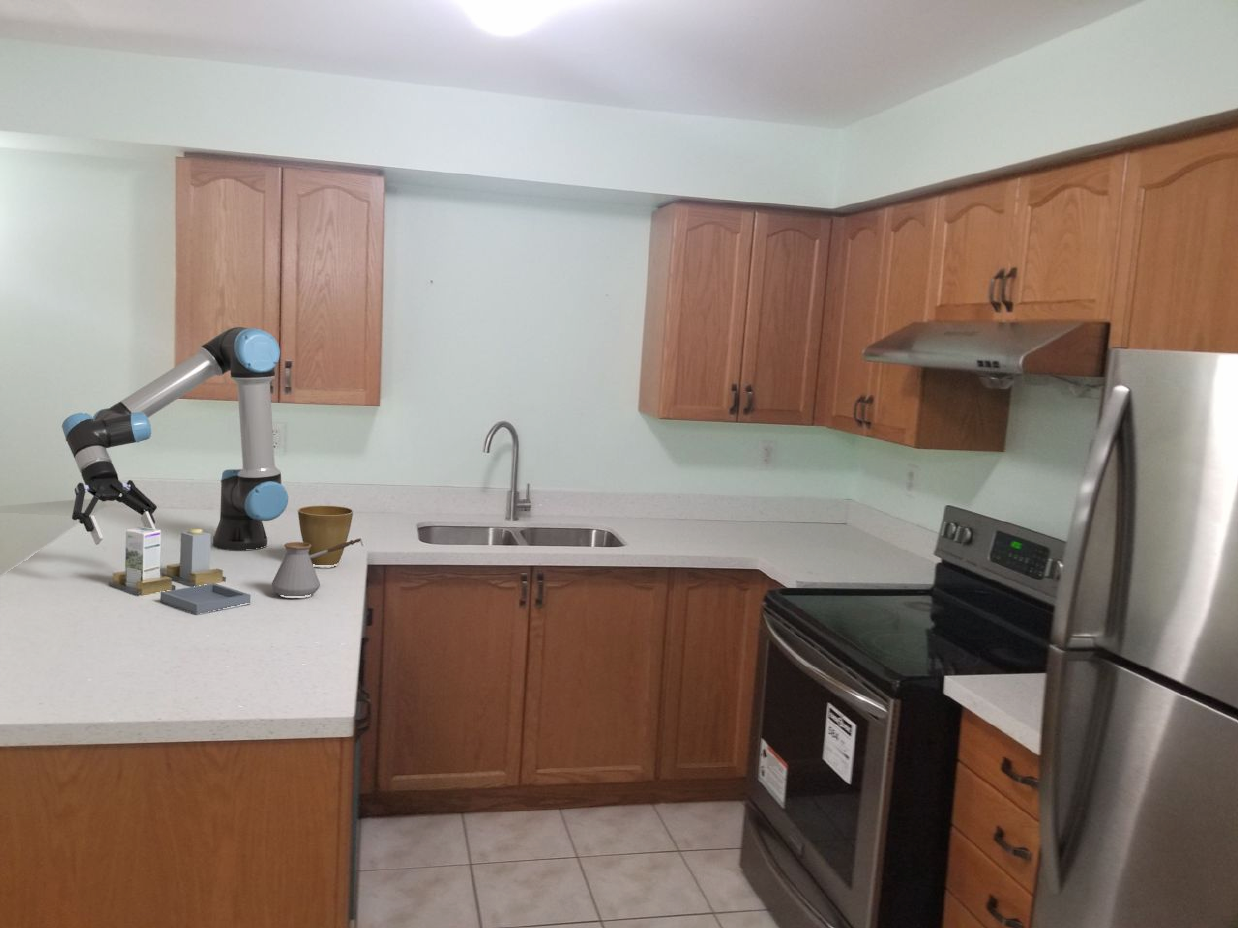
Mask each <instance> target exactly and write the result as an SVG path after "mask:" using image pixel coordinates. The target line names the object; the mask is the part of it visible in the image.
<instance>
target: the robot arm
mask: <svg viewBox="0 0 1238 928" xmlns="http://www.w3.org/2000/svg"><path fill="white" fill-rule="evenodd" d="M280 354H281V350H280V346H279V343H278V341H277V340H276V339H275V337H274V336H273V335H272V334H271V333H269V332H267V331H265V330H263V329H259V328H255V327H251V328H250V327H242V326H239V327H237V326H235V327H231V328H229V329H227V330H224V331H222V332H221V333H220V334H218V335H216V336H215V337H213V338H212V339H211V340H209V341H208V342H206V343H205V344H203V345H201V346H200V347H198V352H197V353H196V354H194V355H193V356H191V357H189V358H187V359H186V360H184V361H183V362H181V363H180V364H178V365H176V366H175V367H173V368H171V369H170V370H169V371H167V372H165V373H164V374H162V375H161V376H158V377H157V378H156V379H153V380H152V381H150V382H149V383H147V384H146V385H144V386H142V387H141V388H139V389H138V390H137V391H135V392H133V393H132V394H129V396H127V397H125V398H123V399H121V400H120V401H119V402H117V403H115V404H114V405H112V406H110V407H109V408H103V409H99V410H98V411H96V412H95V413H94V415H93V416H92V415H91V414H89V413H86V412H85V413H84V412H77V413H74V414H71V415H69V416H68V417H66V418H65V419H64V421H63V422H62V425H61V429H62V431H63V434H64V437H65V441H66V442H67V445H68V448H69V449H70V451H71V454H72V456H73V458H74V462H75V463H76V465H77V468H78V470H79V472H80V475H81V479H82V480H83V482H84V483H83V482H78V484H77V485H76V487H75V488H74V493H75V500H74V506H73V510H72V515H71V519H72V520H73V521H77V520H78V522H79V524H81V525H83V526H84V528H85V531H86V532H88V533H90V535H91V537H92V539H93V543H94V545H96V546H97V545H99V544H100V543H101V542H102V540H103V539H104V537H103V534H102V532H101V529H100V527H99V525H98V523H97V520H96V518H95V515H91V514H92V512H93V510H94V508H95V507H96V505H97V503H98V501H101V502H108V501H111V502H112V501H113V502H114V501H117V502H118V503H123V504H124V505H125V506H127V507H128V508H130V509H132V510H133V511H134V512H136V513H138V514H139V515H141V517H140V520H141V522H142V524H143V527H145V528H151V529H157V528H156V525H155V523H156V520H155V518H154V516H153V514H154V513H155V511H156V510H157V508H158V507H157V505H156V504H155V503H154V502H153V501H152V500H151V499H150V498H149V497H147V495H145V493H143V492H142V491H141V490H140V489H139V488H138V487H137V486H136V484H135V482H134V481H133V480H132V479H130V480H128V481H126V482H123V483H122V482H121V481H120V479H119V476H118V473H117V471H116V468H115V466H114V464H113V461H112V458H111V456H110V454H109V452H108V449H110V448H114V447H120V446H124V445H128V444H129V445H130V444H134V443H135V444H136V443H140V442H142V441H147V440H149V439H150V438H151V436H152V428H151V423H150V420H149V418H150V417H152V416H153V415H154V414H156V413H158V412H160V411H161V410H163V409H164V408H165V407H167V406H168V405H170V404H172V403H173V402H175V401H177V400H178V399H181V397H183V396H184V395H186V394H188V393H189V392H191V391H193V390H194V389H196V388H197V387H199V386H200V385H202V384H203V383H205V382H206V381H208V380H210V379H211V378H213V377H215V376H217V377H221V376H223V375H224V374H226V373H228V372H230V378H231V379H232V380H233V381H234V382H235V383H236V384H237V398H238V400H237V401H238V414H239V416H238V417H239V427H240V429H239V430H240V443H241V445H240V447H241V448H240V449H241V459H242V460H241V462H242V468H239V469H237V468H235V469H225V470H223V471H222V474H221V479H220V484H221V485H220V486H221V487H220V511H219V512H220V515H219V521H218V524H217V527H216V530H215V532H214V535H213V537H212V546H213V547H214V548H216V547H217V549H220V548H221V549H220V550H226V549H229V550H228V551H247V550H246V549H255V550H257V549H256V548H261V547H264V546H266V545H267V546H268V537H267V532H266V530H265V526H264V522H269V521H272V520H273V521H274V520H275V519H277V518H279V517H280V516H281V515H282V514H283V513H284V512H285V510H286V509H287V507H288V503H289V494H288V491H287V489H286V488H285V486H284V485H282V471H281V470H280V469H278V468H277V466H276V464H275V463H276V462H275V450H274V433H273V432H274V431H273V417H272V399H271V384H270V383H271V382H272V380H273V379H275V377H276V370H275V368H276V366H277V363H278V362H279V359H280ZM86 492H88V494H90V495H92V498H91V500H90V502H89V503H88V505H87V507H86V508H85V511H84V512H83V511H82V510H83V507H84V501H85V496H86ZM120 495H121V496H120ZM267 546H266V547H267ZM264 548H265V547H264ZM261 549H262V548H261Z"/></svg>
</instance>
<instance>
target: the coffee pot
mask: <svg viewBox="0 0 1238 928" xmlns="http://www.w3.org/2000/svg"><path fill="white" fill-rule="evenodd" d="M359 542H360V544H361V546H362V547H364V543H363V541H362V538H361V537H360V538H356V539H354V540H350V541H347V542H346V543H342V544H339V545H337V546H334V547H332V548H329V549H327V550H325V551H321V552H318V553H315V554H312V555H309V554H308V552H309V549H310V547H311V544H309V543H303V541H302V542H299V541H295V542H286V543H284V544H283V545H284V547H285V550H286V553H285V555H284V558H283V560H282V562H281V563H280V566H279V567H278V569H277V572H276V573H275V576H274V577H273V580H272V582H271V587H272V590H273V591H274V592H275V593H276V594H278V595H279V594H280V595H284V596H305V595H310V594H312V595H314V594H316V592H317V591H318V590H319V589H320V587H321V583H320V580H319V578H318V575H317V572H316V570H315V569H316V568H314V567H313V564H312V561H311V559H312V558H315V557H317V556H320V555H323V554H325V553H329V552H332V551H335V550H339V549H342V548H344V549H345V548H347V547H349V546H353V545H354V544H355V543H359ZM313 593H314V594H313Z"/></svg>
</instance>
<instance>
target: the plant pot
mask: <svg viewBox="0 0 1238 928" xmlns="http://www.w3.org/2000/svg"><path fill="white" fill-rule="evenodd" d="M353 514H354V510H353V509H352V508H350V507H349V508H348V507H345V506H338V505H310V506H304V507H300V508H298V509H297V515H298V523H299V528H300V529H299V530H300V536H301V540H302V542H303V543H309V544H311V547H310V549H309V552H308V554H309V555H312V554H315V553H318V552H321V551H325V550H327V549H329V548H332V547H334V546H337V545H339V544H342V543H346V542H348V538H349V534H350V531H351V526H352V522H353V521H352V520H353V516H354V515H353ZM344 551H345V548H342V549H339V550H335V551H332V552H329V553H325V554H323V555H320V556H317V557H315V558H312V559H311V561H312V564H315V565H334V564H337V563H338V564H339V563H340V560H341V558H342V555H343V553H344Z"/></svg>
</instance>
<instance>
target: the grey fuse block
mask: <svg viewBox="0 0 1238 928" xmlns="http://www.w3.org/2000/svg"><path fill="white" fill-rule="evenodd" d="M211 536H212V534H211V533H208V532H205V531H203V528H198V527H197V528H196V527H195V528H194V527H192V528H189V531H185V532H184V531H183V532H180V549H179V551H180V556H179V563H180V578H183V579H187V580H190V573H192V572H198V571H205V570H210V566H211V565H210V562H211V561H210V560H211V538H212V537H211Z"/></svg>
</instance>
